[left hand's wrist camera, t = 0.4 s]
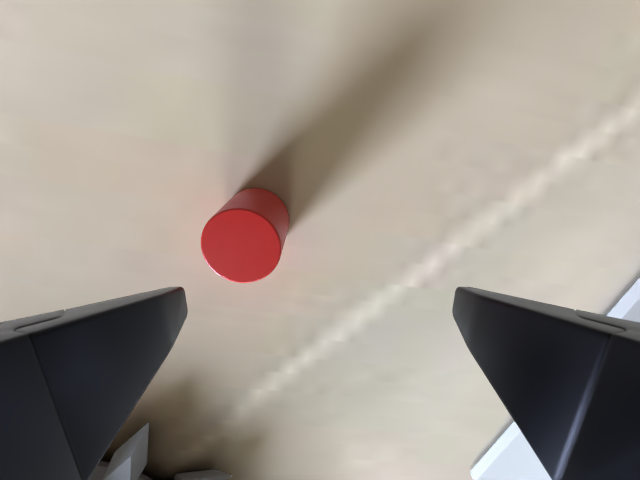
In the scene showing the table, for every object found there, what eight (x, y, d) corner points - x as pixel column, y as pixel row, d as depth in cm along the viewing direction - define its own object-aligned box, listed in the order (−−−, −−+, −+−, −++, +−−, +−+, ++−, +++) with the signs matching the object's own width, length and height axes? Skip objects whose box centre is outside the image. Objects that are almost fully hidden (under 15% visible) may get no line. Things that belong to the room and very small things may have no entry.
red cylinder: (244, 258, 21) (225, 294, 17) (213, 204, 20) (184, 228, 15) (299, 234, 20) (294, 265, 16) (271, 177, 19) (257, 194, 15)
